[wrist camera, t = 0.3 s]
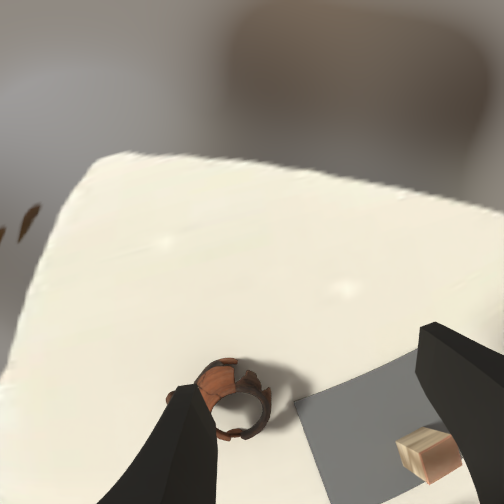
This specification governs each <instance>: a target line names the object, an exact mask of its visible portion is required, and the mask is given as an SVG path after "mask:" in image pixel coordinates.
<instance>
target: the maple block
mask: <svg viewBox="0 0 504 504" xmlns="http://www.w3.org/2000/svg"><path fill="white" fill-rule="evenodd" d="M395 442H396V445H397V448H398V451H399V454H400V457H401V461H402V464H403V466H404V467H405V468H407V469H408V470H409V471H411V472H412V473H414V474H415V475H417V476H418V477H420V478H421V479H423V480H424V481H425V482H427V484H429V485H430V484H432V483H434V482H435V481H437V480H439V479H441V478H442V477H444V476H446V475H447V474H449V473H450V472H452V471H454V470H455V469H457V468H458V467H460V466H462V462H461V458H460V454H459V450H458V446H457V444H456V442H455V440H454V439H453V437H452V435H451V434H448V433H444V432H440V431H437V430H433V429H429V428H426V427H421V428H419V429H417V430H416V431H414V432H412V433H410V434H408V435H406V436H404V437H402V438H400V439H398V440H396V441H395Z"/></svg>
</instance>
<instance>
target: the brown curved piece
mask: <svg viewBox="0 0 504 504" xmlns="http://www.w3.org/2000/svg"><path fill="white" fill-rule="evenodd" d="M237 363H238V361H237V360H236V359H234V358H223V359H219V360H216V361H213V362H212V363H210V364H209V365H208V366H207V367H206V368H205V369H204V370H203V371H202V373H201V374H200V375H199V376H198V378H197V379H196V380H195V382H194V384H197V385H198V387H199V390H200V392H201V394H202V396H203V398H204V400H205V403H206V405H207V407H208V409H209V411H210V413H211V412H212V409H213V407H214V405H215V404H216V403H217V402H218V401H219V400H220V399H221V398H223V397H225V396H226V395H229V394H232V393H236V392H245V393H249V394H252V395H254V396H256V397H257V398H258V399H259V400H260V401H261V403H262V407H263V412H262V415H261V418H260V419H259V421H258V422H257V423H256V424H255V425H254V426H253V427H251V428H250V429H248V430H246V431H242V430H240V429H238V428H237V429H232V430H229V431H227V432H223V431H221V430H219V429H218V428H216V434H217V438H219V439H221V440H225V441H230V440H231V437H234V438H236V437H240V436H241V438H242V439H244V440H247V439H250V438H252V437H254V436H255V435H256V434H258V433H259V432H261V431H262V430H263V428H264V427H265V426H266V424H267V422H268V420H269V418H270V413H271V389H270V387H268V388H267V389H266V390H263V391H262V390H261V389H262V385H261V382H260V381H259V379H258V378H257V375H256V374H255V373H254V372H252V371H250V370H247V371H246V375H245V376H243V377H242V378H241V379H240V380H239V381H237V382H236V383H235V377H234V368H232V367H231V366H224V364H237ZM174 392H175V391H172V392H170V393H169V394H168V396H167V397H166V403H167V405H168V403H169V401H170V399H171V397H172V395H173V394H174Z"/></svg>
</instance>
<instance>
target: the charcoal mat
mask: <svg viewBox="0 0 504 504" xmlns="http://www.w3.org/2000/svg"><path fill="white" fill-rule="evenodd" d="M417 351H418V348H417V349H415V350H413V351H411V352H409V353H407V354H406V355H404V356H401V357H399V358H397V359H395V360H393V361H391V362H389V363H387V364H385V365H383V366H381V367H379V368H376V369H374V370H372V371H370V372H368V373H365V374H363V375H361V376H358V377H356V378H354V379H351V380H349V381H347V382H344V383H342V384H339V385H337V386H334V387H332V388H329V389H327V390H324V391H322V392H319V393H316V394H314V395H311V396H308V397H306V398H303V399H300V400H297V401H294V404H295V407H296V410H297V412H298V415H299V418H300V421H301V424H302V426H303V429H304V432H305V435H306V437H307V440H308V443H309V446H310V448H311V451H312V454H313V457H314V459H315V462H316V465H317V468H318V470H319V473H320V476H321V478H322V481H323V484H324V487H325V489H326V492H327V495H328V497H329V500H330V503H331V504H381V503H383V502H385V501H388V500H390V499H392V498H394V497H396V496H398V495H400V494H402V493H404V492H406V491H408V490H410V489H412V488H414V487H416V486H418V485H420V484H422V483H424V482H425V481H424V480H423V479H421V478H420V477H418V476H417V475H415V474H414V473H412V472H411V471H409V470H408V469H407V468H405V467H404V466H403V464H402V461H401V457H400V454H399V451H398V448H397V445H396V442H395V441H396V440H398V439H400V438H402V437H404V436H406V435H408V434H410V433H412V432H414V431H416V430H417V429H419V428H421V427H426V428H429V429H433V430H437V431H440V432H444V433H448V434H450V432H449V431H448V429H447V428H446V426H445V424H444V423H443V421H442V420H441V418H440V417H439V415H438V414H437V412H436V411H435V409H434V407H433V406H432V404H431V403H430V401H429V400H428V398H427V397H426V395H425V393H424V391H423V389H422V387H421V385H420V382H419V380H418V378H417V376H416V374H415V367H416V359H417ZM458 450H459V448H458ZM459 454H460V452H459ZM460 458H461V455H460ZM461 460H462V459H461Z"/></svg>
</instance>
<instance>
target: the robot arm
mask: <svg viewBox="0 0 504 504" xmlns="http://www.w3.org/2000/svg"><path fill="white" fill-rule="evenodd" d="M415 374H416V376H417V378H418V380H419V382H420V385H421V387H422V389H423V391H424V393H425V395H426V397H427V398H428V400H429V401H430V403H431V404H432V406H433V407H434V409H435V411H436V412H437V414H438V415H439V417H440V418H441V420H442V421H443V423H444V424H445V426H446V428H447V429H448V431H449V432H450V434H451V435H452V437H453V439H454V440H455V442H456V444H457V446H458V447H459V449H460V451H461V453H462V456H463V458H464V460H465V462H466V465H467V467H468V469H469V472H470V475H471V477H472V480H473V483H474V485H475V488H476V491H477V494H478V498H479V501H480V504H504V355H502V354H500V353H498V352H495V351H493V350H491V349H489V348H487V347H485V346H483V345H481V344H479V343H477V342H475V341H473V340H471V339H469V338H467V337H465V336H463V335H461V334H459V333H458V332H456V331H454V330H452V329H450V328H448V327H446V326H444V325H442V324H439V323H437V322H433V323H430V324H428V325H425V326H422V327H420V333H419V343H418V351H417V359H416V367H415ZM217 459H218V447H217V434H216V423H215V421H214V419H213V417H212V415H211V413H210V411H209V409H208V407H207V405H206V403H205V400H204V398H203V396H202V394H201V392H200V390H199V388H198V385H197V384H190V385H183V386H178V387H177V388H176V390H175V392H174V394H173V395H172V397H171V399H170V401H169V403H168V405H167V407H166V408H165V410H164V412H163V414H162V416H161V417H160V419H159V421H158V423H157V424H156V426H155V428H154V429H153V431H152V433H151V434H150V436H149V438H148V439H147V441H146V443H145V444H144V446H143V447H142V449H141V450H140V452H139V453H138V454H137V456H136V457H135V459H134V460H133V462H132V463H131V465H130V466H129V467H128V469H127V470H126V471H125V473H124V474H123V475H122V476H121V478H120V479H119V480H118V481H117V482H116V484H115V485H114V486H113V487H112V488H111V489H110V490H109V491H108V492H107V494H106V495H105V496H104V497H103V498H102V499H101V500H100V501H99V502H98V503H97V504H216V481H217Z"/></svg>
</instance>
